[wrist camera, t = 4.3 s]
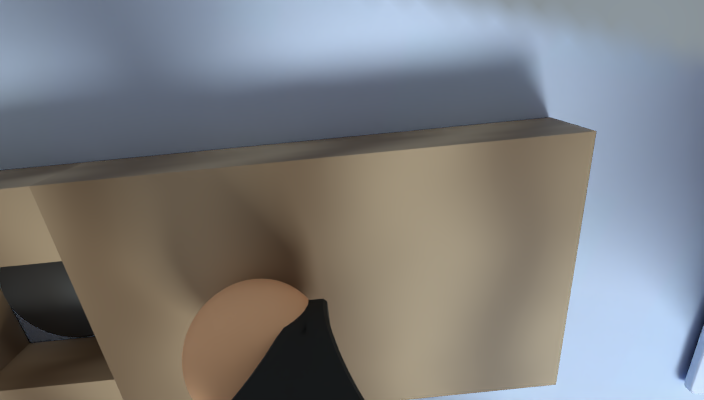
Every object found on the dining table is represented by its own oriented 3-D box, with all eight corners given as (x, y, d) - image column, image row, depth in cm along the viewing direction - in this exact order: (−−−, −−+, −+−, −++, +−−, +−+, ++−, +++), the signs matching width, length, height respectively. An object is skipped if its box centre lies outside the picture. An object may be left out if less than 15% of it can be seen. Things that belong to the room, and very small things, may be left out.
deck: (549, 117, 13) (596, 131, 11) (525, 338, 17) (555, 384, 14) (-131, 183, 13) (-233, 211, 11) (-4, 391, 17) (-59, 447, 14)
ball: (346, 293, 9) (184, 375, 7) (358, 406, 11) (226, 501, 9) (279, 241, 13) (151, 288, 10) (295, 334, 14) (186, 391, 12)
